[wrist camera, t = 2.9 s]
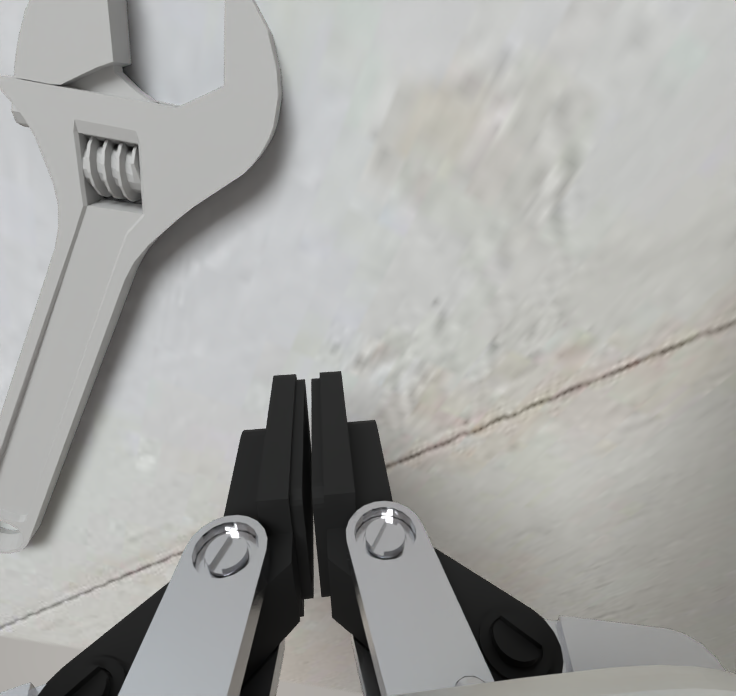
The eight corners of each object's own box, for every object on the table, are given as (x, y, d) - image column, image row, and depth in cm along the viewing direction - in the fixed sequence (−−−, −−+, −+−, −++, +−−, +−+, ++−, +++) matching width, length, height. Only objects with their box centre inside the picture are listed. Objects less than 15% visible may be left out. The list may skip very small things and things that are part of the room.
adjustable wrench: (41, 533, 22) (19, 565, 21) (-108, 484, 20) (-145, 517, 18) (316, 66, 13) (314, 62, 11) (98, -121, 11) (59, -157, 9)
